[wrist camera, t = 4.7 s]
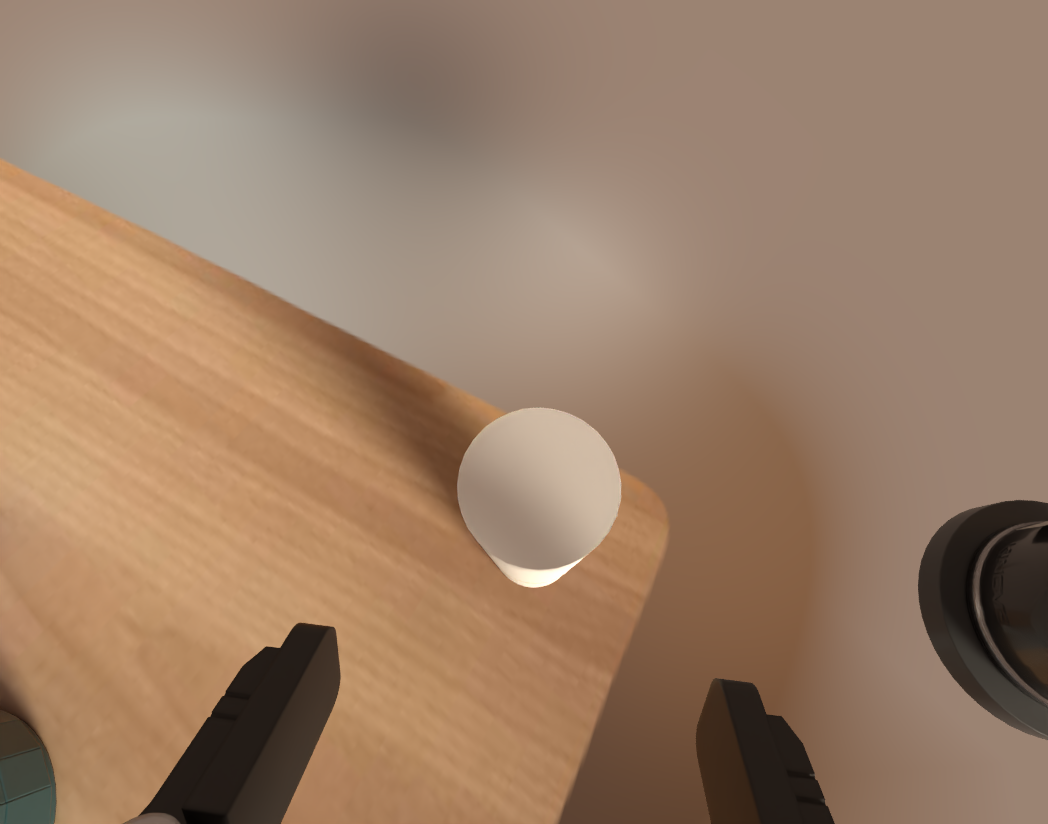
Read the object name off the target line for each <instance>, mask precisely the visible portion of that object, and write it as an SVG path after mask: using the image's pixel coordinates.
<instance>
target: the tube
mask: <svg viewBox="0 0 1048 824" xmlns="http://www.w3.org/2000/svg"><path fill="white" fill-rule="evenodd" d="M457 493H458V502H459V506H460V510H461V514H462V516H463V519H464V521H465V523H466V525H467V527H468V529H469V531H470V532H471V533H472V535H473V536H474V537H475V539H476V540H477V542H478V543H479V544H480V545H481V547H482V548H483V549H484V550H485V552H486V553H487V554H488V555H489V556H490V558H491V559H492V560H493V561H494V563H495V564H496V565H497V566H498V567H499V569H500V570H501V571H502V572H503V574H504V575H505V576H507V577H508V578H509V579H510V580H511V581H513V582H515V583H517V584H519V585H522V586H525V587H542V586H545V585H549V584H551V583H552V582H554V581H556V580H557V579H558V578H560V577H561V576H562V575H563V574H565V573H566V572H567V571H568V570H570V569H571V568H572V567H573V566H574V565H576V564H577V563H578V562H579V561H580V560H582V559H583V558H584V557H585V556H586V555H587V554H589V553H590V552H591V551H592V550H593V549H595V548H596V547H597V546H598V545H599V544H600V543H601V541H602V540H603V539H604V538H605V536H606V535H607V534H608V533H609V531H610V529H611V527H612V525H613V523H614V521H615V519H616V517H617V513H618V509H619V505H620V501H621V480H620V473H619V468H618V466H617V463H616V460H615V457H614V455H613V453H612V451H611V450H610V448H609V446H608V444H607V443H606V441H605V440H604V439H603V438H602V437H601V436H600V435H599V433H598V432H597V431H596V430H595V429H593V428H592V427H591V426H590V425H588V424H587V423H586V422H585V421H583V420H581V419H579V418H577V417H575V416H573V415H571V414H569V413H566V412H563V411H559V410H556V409H550V408H539V407H538V408H527V409H521V410H517V411H514V412H510V413H508V414H506V415H504V416H502V417H499V418H497V419H496V420H494V421H493V422H492V423H490V424H489V425H487V426H486V427H485V428H484V429H483V430H482V431H481V432H480V433H479V434H478V435H477V436H476V437H475V438H474V439H473V441H472V443H471V444H470V446H469V447H468V449H467V451H466V452H465V454H464V457H463V460H462V463H461V466H460V468H459V475H458V482H457Z"/></svg>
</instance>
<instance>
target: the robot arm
mask: <svg viewBox="0 0 1048 824" xmlns="http://www.w3.org/2000/svg"><path fill="white" fill-rule="evenodd" d="M965 591H966V603H967V609H968V613H969V617H970V620H971V623H972V626H973V629H974V631H975V633H976V636H977V638H978V640H979V642H980V643H981V645H982V647H983V649H984V650H985V652H986V654H987V655H988V657H989V658H990V659H991V661H992V662H993V663H994V665H995V666H996V667H997V668H998V670H999V671H1000V672H1001V673H1002V674H1003V675H1004V676H1005V677H1006V678H1007V679H1008V680H1009V681H1010V682H1011V683H1012V684H1013V685H1014V686H1015V687H1016V688H1018V689H1019V690H1020V691H1021V692H1023V693H1024V694H1025V695H1027V696H1028V697H1029V698H1031V699H1032V700H1034V701H1036V702H1037V703H1039V704H1041V705H1042V706H1044V707H1046V708H1048V521H1037V522H1029V523H1023V524H1017V525H1012V526H1009V527H1005V528H1003V529H1001V530H998V531H997V532H995V533H993V534H992V535H990V536H989V537H988V538H986V539H985V540H984V541H983V542H982V543H981V544H980V546H979V547H978V548H977V550H976V551H975V553H974V555H973V557H972V559H971V561H970V564H969V567H968V571H967V576H966V587H965ZM339 685H340V665H339V656H338V646H337V637H336V630H335V628H334V627H329V626H322V625H314V624H306V623H298V624H296V625H295V626H294V627H293V629H292V630H291V632H290V633H289V635H288V636H287V638H286V640H285V641H284V643H283V644H282V646H281V648H275V647H267V646H266V647H265V648H264V649H263V650H261V651H260V652H259V653H258V654H257V655H255V656H254V657H253V658H252V659H251V660H249V661H248V662H247V663H246V664H245V665H244V666H242V668H241V669H240V671H239V672H238V674H237V675H236V677H235V678H234V680H233V681H232V683H231V684H230V686H229V687H228V689H227V690H226V694H225V696H222V698H221V699H220V700H219V702H218V703H217V705H216V706H215V708H214V709H213V711H212V714H211V716H210V717H208V718H207V720H206V721H205V723H204V724H203V726H202V727H201V729H200V730H199V732H198V733H197V735H196V736H195V738H194V739H193V741H192V742H191V744H190V745H189V747H188V748H187V749H186V751H185V752H184V754H183V755H182V757H181V758H180V760H179V761H178V763H177V764H176V766H175V767H174V769H173V770H172V772H171V773H170V775H169V776H168V778H167V779H166V781H165V782H164V784H163V785H162V787H161V788H160V790H159V791H158V793H157V794H156V795H155V797H154V798H153V800H152V801H151V802H150V804H149V805H148V806H147V807H146V808H145V809H144V810H143V812H142V813H141V814H140V815H139V816H138V817H135V818H133V819H131V820H129V821H127V822H125V823H123V824H281V822H282V819H283V817H284V815H285V813H286V811H287V808H288V806H289V804H290V802H291V800H292V797H293V795H294V793H295V791H296V788H297V786H298V784H299V782H300V780H301V777H302V775H303V773H304V771H305V769H306V766H307V764H308V762H309V760H310V758H311V755H312V753H313V751H314V749H315V746H316V744H317V742H318V740H319V738H320V735H321V733H322V731H323V729H324V727H325V724H326V722H327V720H328V718H329V716H330V713H331V711H332V709H333V707H334V704H335V701H336V698H337V695H338V691H339ZM696 749H697V757H698V763H699V767H700V772H701V777H702V782H703V787H704V791H705V796H706V801H707V806H708V811H709V815H710V820H711V824H835V823H834V821H833V818H832V816H831V813H830V811H829V808H828V806H826V805H825V799H824V796H823V793H822V791H821V788H820V786H819V783H818V781H817V780H815V774H814V771H813V769H812V766H811V763H810V761H809V758H808V756H807V753H806V751H805V748H804V746H803V743H802V742H801V741H800V740H799V738H798V737H797V736H796V734H795V733H794V732H793V730H792V729H791V728H790V726H789V725H788V724H787V723H786V721H785V720H784V719H783V718H782V717H781V716H774V715H767V714H766V712H765V709H764V706H763V703H762V701H761V698H760V695H759V692H758V690H757V688H756V687H755V685H753V684H752V683H748V682H740V681H733V680H724V679H717V678H715V679H714V680H713V681H712V683H711V686H710V689H709V692H708V695H707V698H706V701H705V704H704V707H703V710H702V713H701V716H700V719H699V722H698V725H697V732H696Z"/></svg>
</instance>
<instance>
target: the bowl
mask: <svg viewBox="0 0 1048 824" xmlns="http://www.w3.org/2000/svg"><path fill="white" fill-rule="evenodd" d="M55 813H56V783H55V777H54V772H53V767H52V764H51V761H50V758H49V755H48V753H47V751H46V749H45V747H44V745H43V743H42V741H41V740H40V738H39V737H38V736H37V734H36V733H35V732H34V730H32V729H31V728H30V727H29V726H28V725H27V724H26V723H25V722H24V721H22V720H21V719H19V718H18V717H16V716H14V715H13V714H10V713H8V712H5V711H3V710H1V709H0V824H54V822H55Z"/></svg>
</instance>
